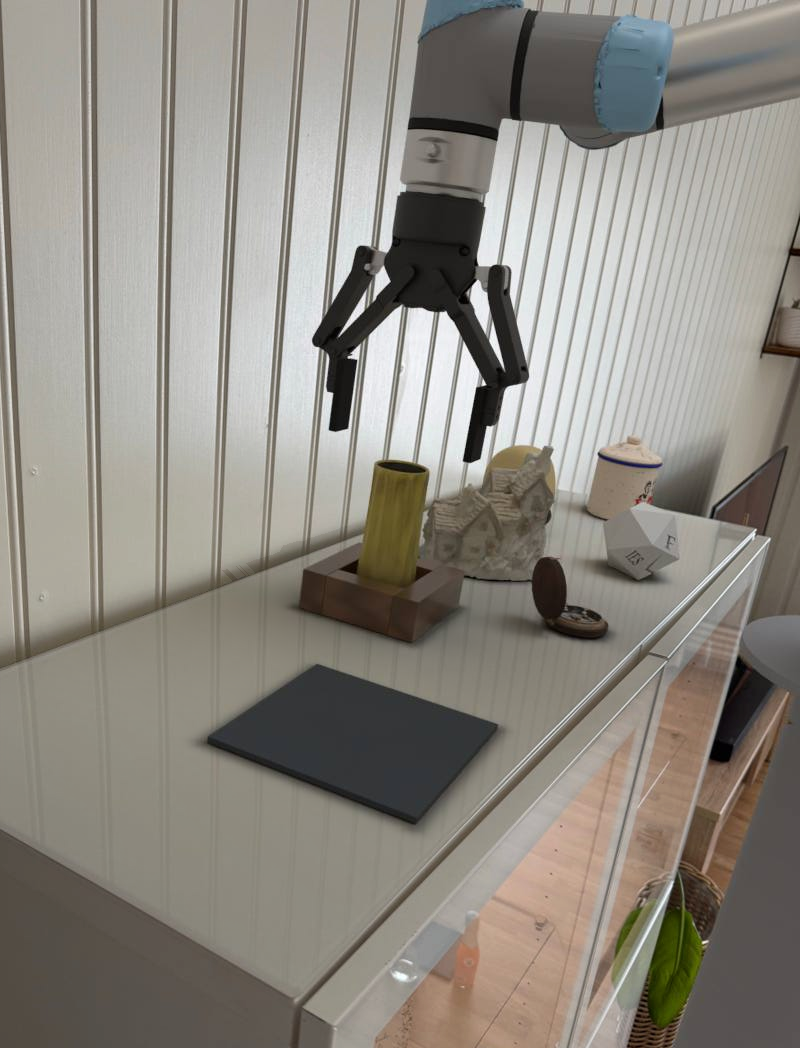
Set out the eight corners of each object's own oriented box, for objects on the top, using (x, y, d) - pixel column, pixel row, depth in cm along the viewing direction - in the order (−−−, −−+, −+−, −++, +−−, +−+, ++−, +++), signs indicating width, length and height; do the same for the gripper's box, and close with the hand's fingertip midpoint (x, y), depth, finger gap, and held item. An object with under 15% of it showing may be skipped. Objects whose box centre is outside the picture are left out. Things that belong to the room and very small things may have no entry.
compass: (618, 640, 95) (636, 570, 92) (545, 639, 93) (561, 567, 90) (581, 609, 102) (596, 543, 99) (512, 607, 100) (526, 540, 97)
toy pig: (475, 544, 132) (491, 509, 122) (477, 467, 136) (492, 427, 126) (546, 550, 132) (568, 516, 122) (546, 472, 136) (567, 433, 126)
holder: (458, 607, 98) (465, 570, 96) (411, 642, 88) (418, 602, 86) (353, 577, 103) (358, 541, 101) (298, 607, 93) (303, 568, 91)
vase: (412, 623, 93) (436, 478, 87) (349, 614, 93) (369, 469, 87) (410, 600, 98) (432, 463, 92) (350, 593, 98) (369, 455, 93)
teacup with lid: (643, 528, 136) (664, 447, 131) (579, 514, 139) (597, 434, 135) (653, 511, 146) (673, 435, 142) (593, 499, 149) (611, 424, 145)
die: (597, 583, 113) (666, 531, 107) (575, 527, 118) (639, 474, 112) (642, 603, 118) (710, 554, 111) (618, 548, 123) (682, 499, 117)
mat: (497, 729, 74) (498, 724, 74) (415, 824, 61) (417, 817, 61) (316, 668, 80) (317, 663, 80) (207, 742, 67) (207, 736, 67)
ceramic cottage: (536, 543, 122) (554, 425, 115) (556, 593, 107) (578, 460, 101) (413, 535, 122) (424, 417, 116) (416, 583, 108) (429, 451, 101)
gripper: (292, 174, 82) (267, 422, 91) (576, 206, 73) (519, 481, 81) (333, 183, 89) (306, 414, 97) (599, 214, 79) (544, 467, 87)
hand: (402, 445), depth 89 cm, fingers open, 13 cm apart
